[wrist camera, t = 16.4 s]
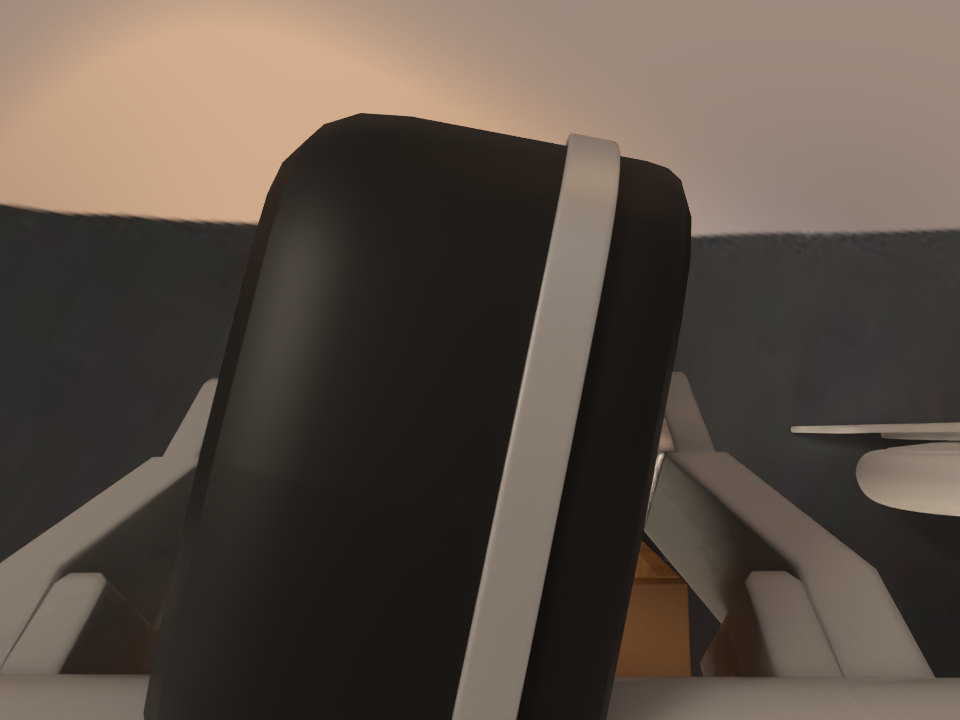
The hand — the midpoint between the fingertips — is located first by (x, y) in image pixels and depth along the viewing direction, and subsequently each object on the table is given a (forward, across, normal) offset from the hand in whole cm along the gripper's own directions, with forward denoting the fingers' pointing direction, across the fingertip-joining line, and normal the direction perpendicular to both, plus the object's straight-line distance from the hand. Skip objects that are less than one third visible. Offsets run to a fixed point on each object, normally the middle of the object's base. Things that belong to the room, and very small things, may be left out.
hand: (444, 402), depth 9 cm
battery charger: (+4, 0, +5) cm, 6 cm away
